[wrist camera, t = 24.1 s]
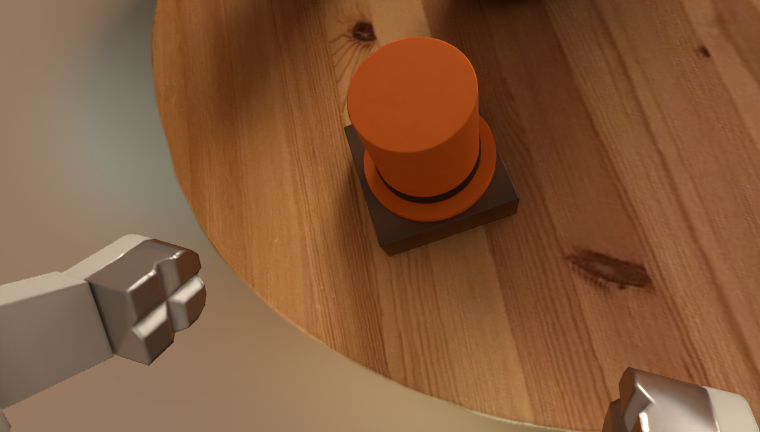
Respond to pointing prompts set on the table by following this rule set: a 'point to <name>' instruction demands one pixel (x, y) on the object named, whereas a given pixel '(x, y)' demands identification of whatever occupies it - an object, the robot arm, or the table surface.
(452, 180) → the hat
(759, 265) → the table surface
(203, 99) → the table surface
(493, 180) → the plinth
